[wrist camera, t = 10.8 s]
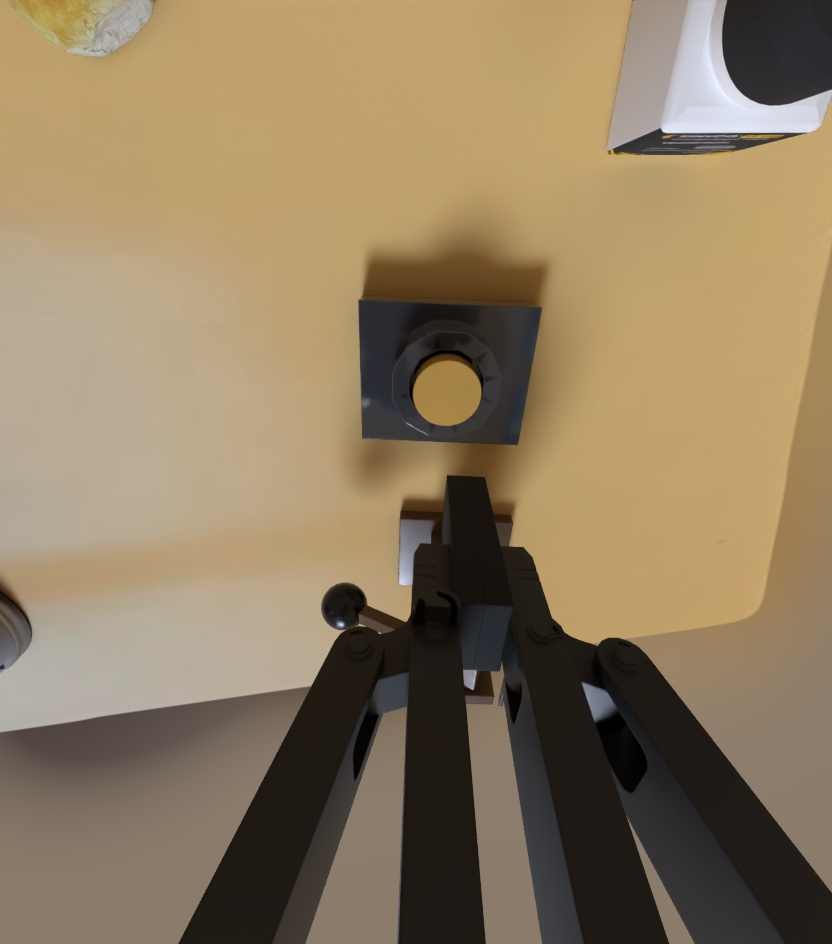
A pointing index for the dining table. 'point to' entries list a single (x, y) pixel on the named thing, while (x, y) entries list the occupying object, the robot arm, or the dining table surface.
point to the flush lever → (366, 617)
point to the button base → (439, 332)
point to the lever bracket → (430, 531)
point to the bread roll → (86, 22)
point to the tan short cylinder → (446, 389)
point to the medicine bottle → (721, 75)
